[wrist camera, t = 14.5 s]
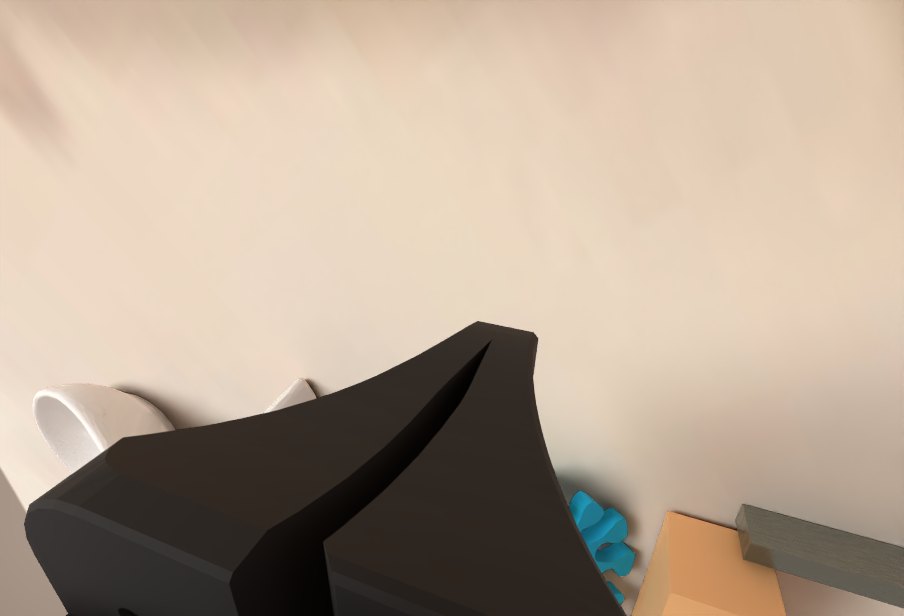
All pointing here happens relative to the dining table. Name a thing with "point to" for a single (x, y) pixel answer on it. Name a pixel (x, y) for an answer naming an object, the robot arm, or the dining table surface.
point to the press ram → (705, 575)
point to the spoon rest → (111, 418)
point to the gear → (603, 536)
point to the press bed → (822, 554)
